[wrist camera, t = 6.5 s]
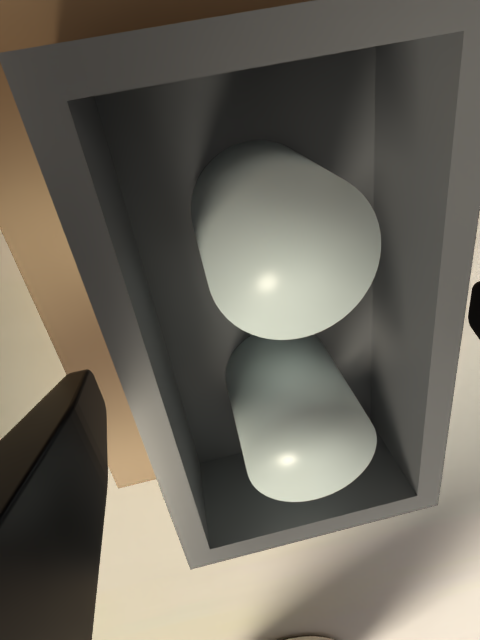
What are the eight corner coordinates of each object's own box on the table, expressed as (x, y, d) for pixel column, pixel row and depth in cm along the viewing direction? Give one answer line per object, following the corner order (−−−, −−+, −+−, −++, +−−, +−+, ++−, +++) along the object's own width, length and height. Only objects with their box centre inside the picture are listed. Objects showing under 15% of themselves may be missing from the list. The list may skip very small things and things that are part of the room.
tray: (377, 413, 14) (444, 515, 11) (182, 460, 14) (191, 581, 10) (387, 2, 9) (531, -39, 5) (54, 58, 8) (-11, 52, 5)
